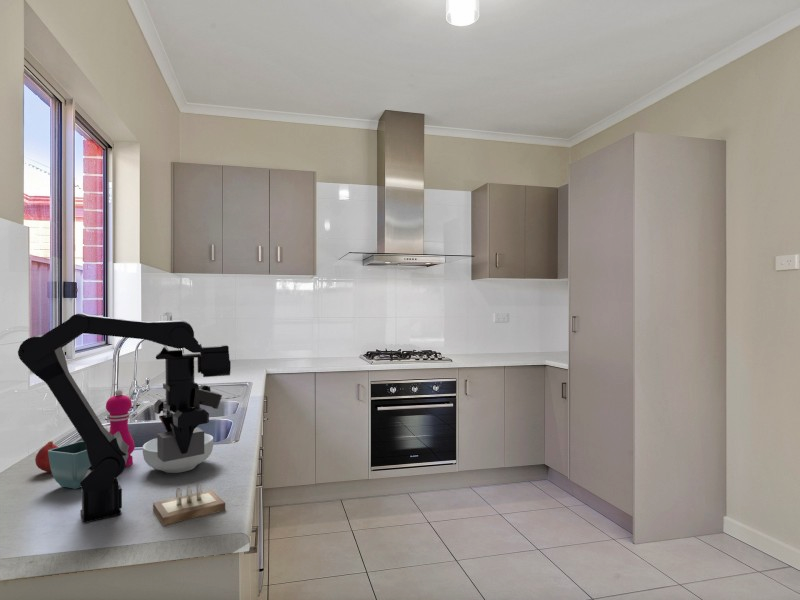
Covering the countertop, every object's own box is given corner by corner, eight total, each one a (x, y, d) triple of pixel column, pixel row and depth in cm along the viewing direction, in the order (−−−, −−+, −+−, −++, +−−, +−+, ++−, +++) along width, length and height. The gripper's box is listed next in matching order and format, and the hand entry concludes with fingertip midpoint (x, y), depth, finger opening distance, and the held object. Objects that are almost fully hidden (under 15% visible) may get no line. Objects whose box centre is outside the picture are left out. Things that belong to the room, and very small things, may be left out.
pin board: (163, 525, 99) (163, 517, 99) (153, 510, 106) (153, 502, 106) (225, 509, 106) (225, 502, 106) (211, 496, 113) (211, 489, 113)
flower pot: (81, 476, 126) (81, 440, 126) (108, 480, 123) (108, 443, 123) (46, 488, 118) (46, 450, 118) (74, 493, 115) (74, 454, 115)
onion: (37, 478, 125) (36, 445, 124) (34, 472, 129) (33, 440, 129) (65, 472, 128) (64, 441, 128) (61, 467, 133) (61, 436, 133)
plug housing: (163, 462, 106) (163, 438, 106) (157, 456, 109) (157, 433, 109) (204, 453, 111) (204, 431, 111) (197, 449, 115) (197, 426, 115)
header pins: (177, 506, 104) (176, 489, 104) (175, 504, 105) (175, 488, 105) (202, 500, 107) (202, 484, 107) (200, 499, 108) (200, 482, 108)
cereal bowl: (182, 454, 143) (182, 429, 143) (227, 462, 136) (227, 436, 136) (127, 473, 128) (127, 445, 128) (174, 484, 121) (174, 454, 121)
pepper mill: (127, 458, 140) (127, 385, 139) (139, 464, 135) (139, 388, 135) (98, 465, 134) (98, 389, 134) (110, 471, 129) (109, 392, 129)
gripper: (233, 380, 108) (233, 453, 108) (203, 370, 122) (203, 435, 122) (178, 386, 101) (179, 464, 101) (153, 375, 115) (154, 443, 115)
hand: (180, 450), depth 110 cm, fingers closed on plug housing, 4 cm apart
